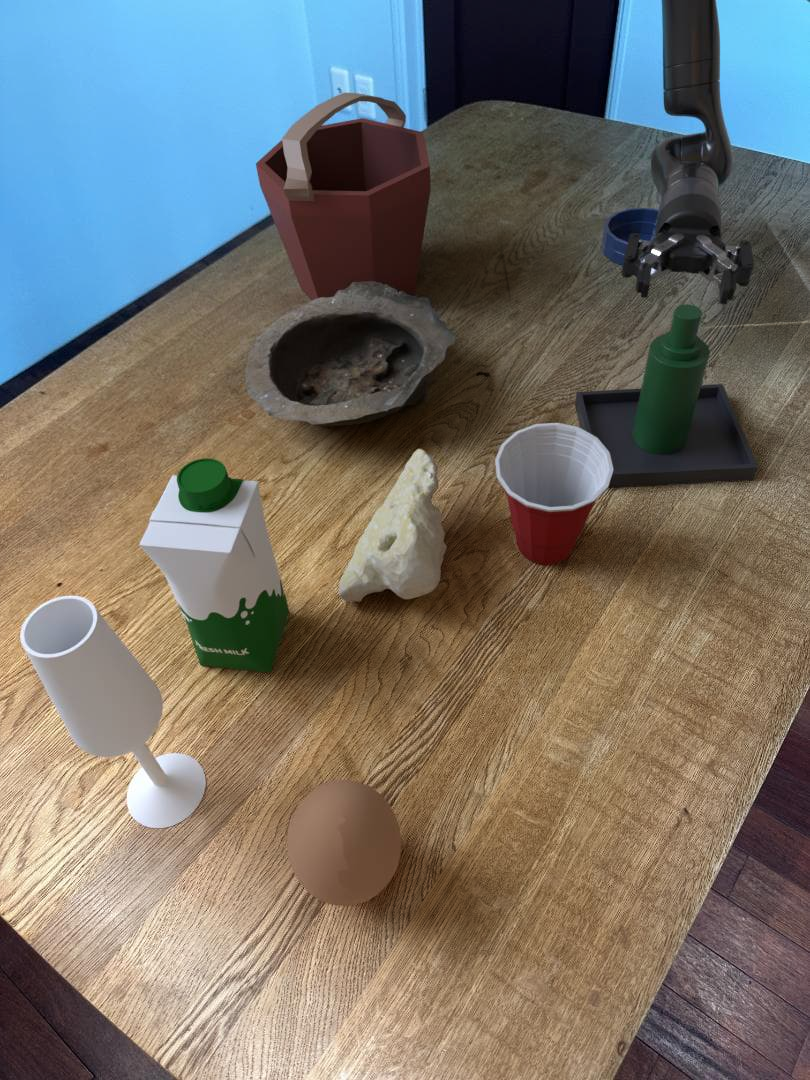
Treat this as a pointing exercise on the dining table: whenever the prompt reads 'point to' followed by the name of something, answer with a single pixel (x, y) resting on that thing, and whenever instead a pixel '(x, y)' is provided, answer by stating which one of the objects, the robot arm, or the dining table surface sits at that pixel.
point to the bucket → (349, 197)
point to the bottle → (671, 384)
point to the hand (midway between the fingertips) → (685, 293)
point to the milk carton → (220, 566)
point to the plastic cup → (551, 486)
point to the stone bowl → (348, 356)
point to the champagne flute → (110, 705)
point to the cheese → (400, 539)
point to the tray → (704, 458)
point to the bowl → (627, 231)
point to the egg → (344, 842)
